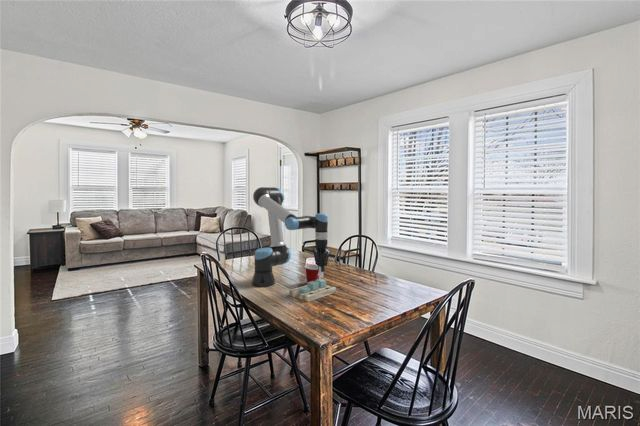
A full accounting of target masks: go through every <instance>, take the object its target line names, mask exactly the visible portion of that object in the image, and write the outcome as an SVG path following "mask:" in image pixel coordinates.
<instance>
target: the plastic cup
mask: <svg viewBox="0 0 640 426" xmlns="http://www.w3.org/2000/svg"><path fill="white" fill-rule="evenodd" d="M304 269H305V274H306V275H305V277H306V281H307V282H311V281H315V280H318V278H319V271H318V265H316V264H305V265H304ZM307 282H306V283H307Z"/></svg>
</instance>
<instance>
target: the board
mask: <svg viewBox="0 0 640 426" xmlns="http://www.w3.org/2000/svg"><path fill="white" fill-rule="evenodd" d="M301 287H307V284H305V285H303V286H300V287H296V288H293V289H292V288H291V289H289V291H288V296H291V297H292V298H296V299H299V300H302V301H305V302H306V303H309V302H312V301H314V300H317V299H320V298H323V297H326V296H328V295H332V294H335V293H337V288H336V287H335V286H333V285H332V286H331V285H327V284H326V287H323V288H319V289H317V290H314V291H312V290H310V292H309V293H305V294H304V293H301V292H299V288H301Z"/></svg>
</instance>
